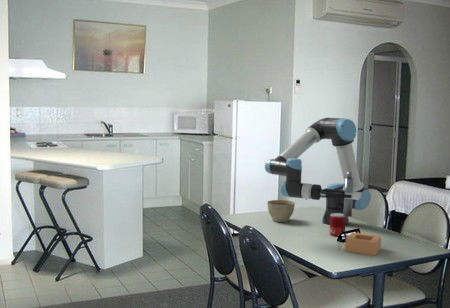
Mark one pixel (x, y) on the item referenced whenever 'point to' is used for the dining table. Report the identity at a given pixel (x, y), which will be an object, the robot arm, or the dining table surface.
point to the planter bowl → (280, 210)
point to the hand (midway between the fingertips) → (359, 196)
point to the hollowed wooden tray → (363, 243)
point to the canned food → (337, 224)
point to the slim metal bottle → (348, 189)
